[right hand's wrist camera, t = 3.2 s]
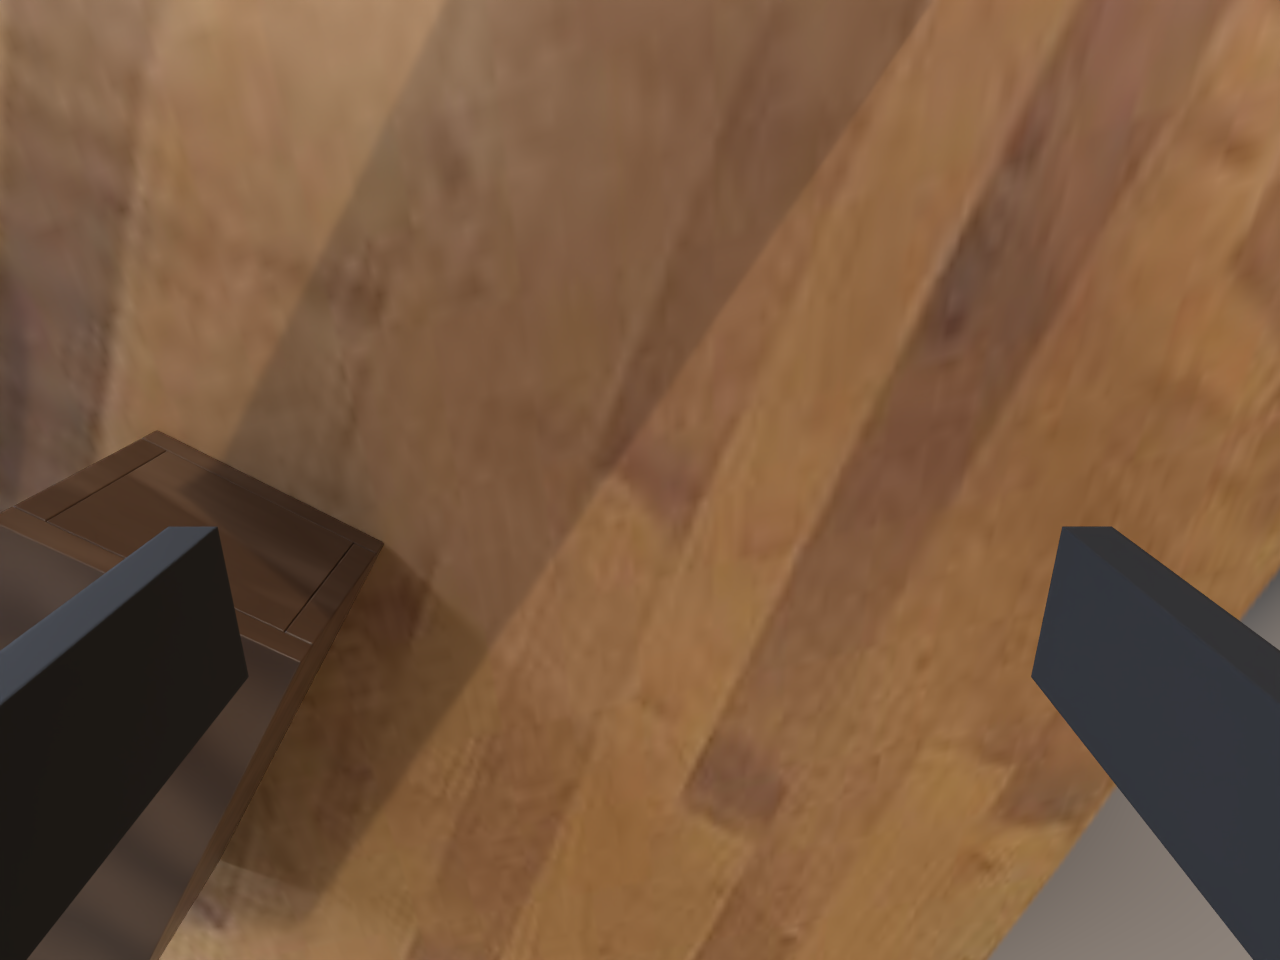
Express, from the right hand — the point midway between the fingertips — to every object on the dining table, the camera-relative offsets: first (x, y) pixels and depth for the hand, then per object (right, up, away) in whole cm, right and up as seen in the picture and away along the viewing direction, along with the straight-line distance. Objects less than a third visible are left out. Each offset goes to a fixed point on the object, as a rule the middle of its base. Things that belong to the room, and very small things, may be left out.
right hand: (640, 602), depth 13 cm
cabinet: (-21, -7, +25) cm, 33 cm away
